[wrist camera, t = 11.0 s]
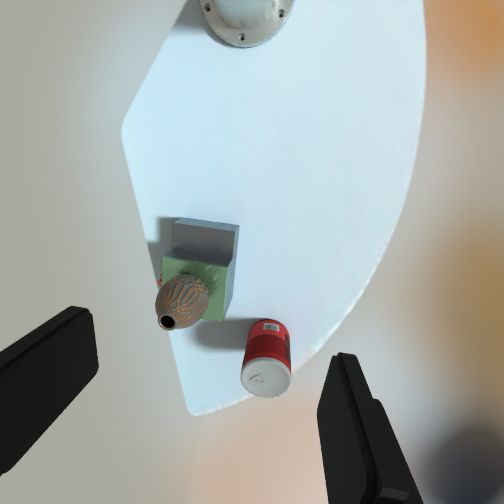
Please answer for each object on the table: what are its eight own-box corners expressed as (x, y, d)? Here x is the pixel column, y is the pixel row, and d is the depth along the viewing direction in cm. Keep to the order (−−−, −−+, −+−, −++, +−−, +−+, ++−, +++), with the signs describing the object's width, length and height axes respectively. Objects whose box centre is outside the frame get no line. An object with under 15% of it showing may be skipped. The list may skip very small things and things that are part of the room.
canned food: (241, 329, 49) (230, 372, 39) (275, 311, 47) (273, 352, 36) (263, 356, 50) (258, 405, 40) (297, 340, 48) (300, 387, 38)
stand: (177, 216, 43) (155, 227, 35) (239, 225, 42) (230, 238, 34) (176, 288, 48) (157, 311, 40) (232, 297, 47) (222, 322, 39)
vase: (218, 305, 38) (201, 343, 30) (177, 310, 39) (150, 348, 31) (208, 264, 36) (186, 293, 28) (165, 270, 37) (131, 300, 29)
